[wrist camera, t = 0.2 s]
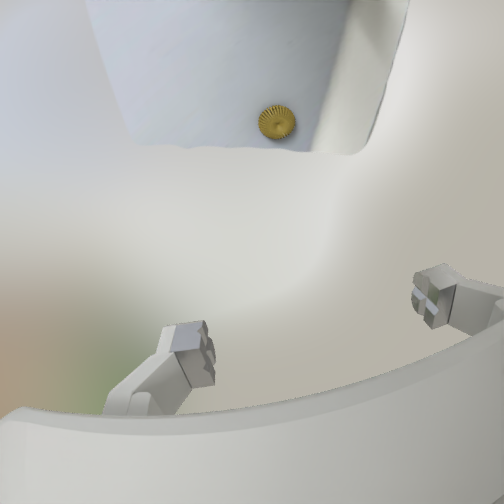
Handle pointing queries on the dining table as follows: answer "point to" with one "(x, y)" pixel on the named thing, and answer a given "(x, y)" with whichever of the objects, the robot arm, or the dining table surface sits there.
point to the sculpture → (276, 122)
